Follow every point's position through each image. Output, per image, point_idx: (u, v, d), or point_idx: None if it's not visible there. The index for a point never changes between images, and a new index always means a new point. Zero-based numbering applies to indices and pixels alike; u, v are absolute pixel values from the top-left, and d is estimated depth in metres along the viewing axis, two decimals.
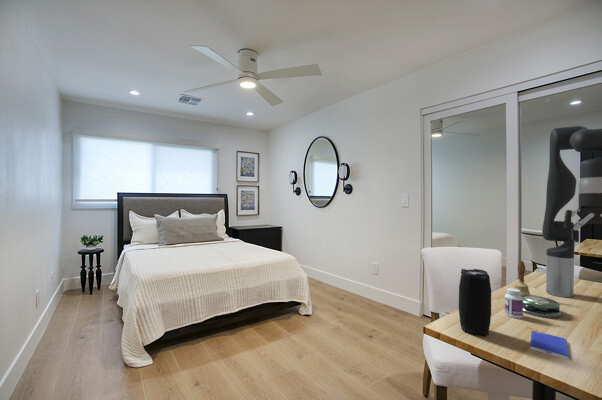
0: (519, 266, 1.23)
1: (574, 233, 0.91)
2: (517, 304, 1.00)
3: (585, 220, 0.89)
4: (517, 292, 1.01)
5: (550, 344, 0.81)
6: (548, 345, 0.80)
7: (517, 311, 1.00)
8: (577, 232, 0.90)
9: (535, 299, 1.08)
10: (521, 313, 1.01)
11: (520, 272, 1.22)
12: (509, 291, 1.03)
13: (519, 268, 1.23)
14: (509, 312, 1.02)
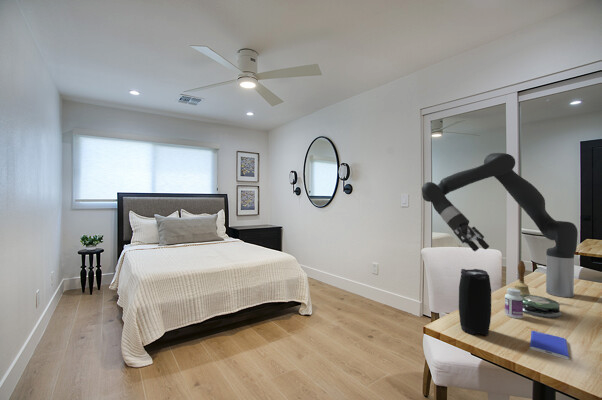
0: (519, 266, 1.23)
1: None
2: (517, 304, 1.00)
3: None
4: (517, 292, 1.01)
5: (550, 344, 0.81)
6: (548, 345, 0.80)
7: (517, 310, 1.00)
8: None
9: (535, 299, 1.08)
10: (521, 313, 1.01)
11: (520, 272, 1.22)
12: (509, 291, 1.03)
13: (519, 268, 1.23)
14: (509, 312, 1.02)
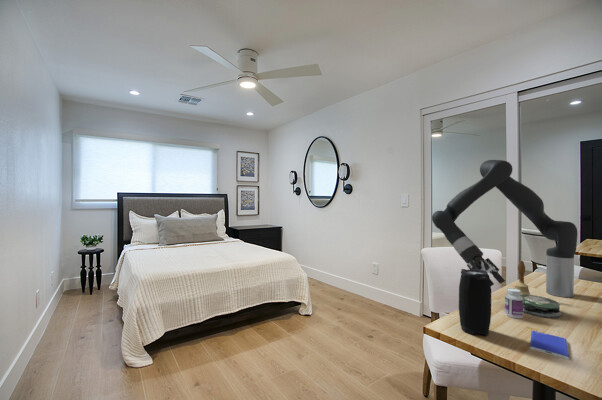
0: (519, 266, 1.23)
1: None
2: (517, 304, 1.00)
3: None
4: (517, 292, 1.01)
5: (550, 344, 0.81)
6: (548, 345, 0.80)
7: (517, 311, 1.00)
8: None
9: (535, 299, 1.08)
10: (521, 313, 1.01)
11: (520, 272, 1.22)
12: (509, 291, 1.03)
13: (519, 268, 1.23)
14: (509, 312, 1.02)
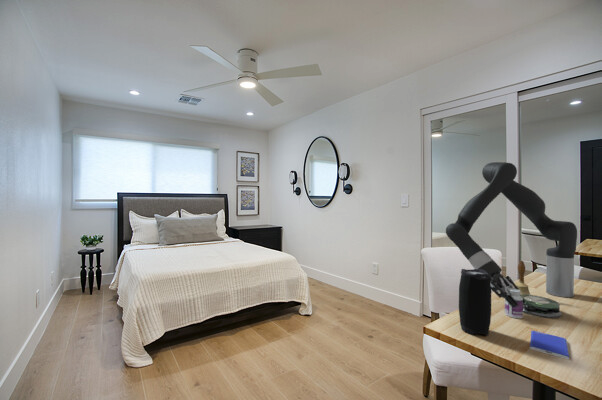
0: (519, 266, 1.23)
1: None
2: None
3: None
4: (517, 292, 1.01)
5: (550, 344, 0.81)
6: (548, 345, 0.80)
7: (517, 310, 1.00)
8: None
9: (535, 299, 1.08)
10: (521, 313, 1.01)
11: (520, 272, 1.22)
12: (509, 291, 1.03)
13: (519, 268, 1.23)
14: (509, 312, 1.02)
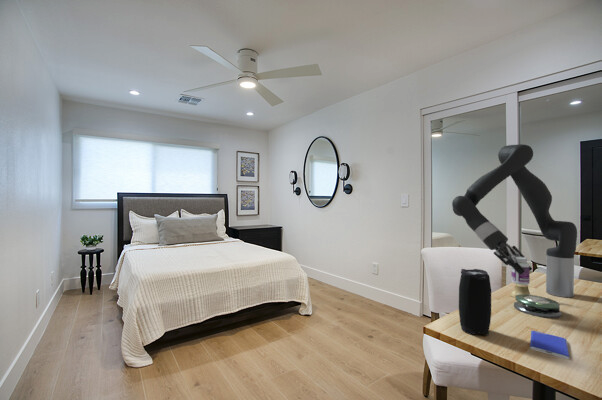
0: None
1: None
2: None
3: None
4: (524, 259, 1.02)
5: (550, 344, 0.81)
6: (548, 345, 0.80)
7: (524, 277, 1.02)
8: None
9: (535, 299, 1.08)
10: (528, 280, 1.02)
11: None
12: (516, 259, 1.04)
13: None
14: (515, 279, 1.03)
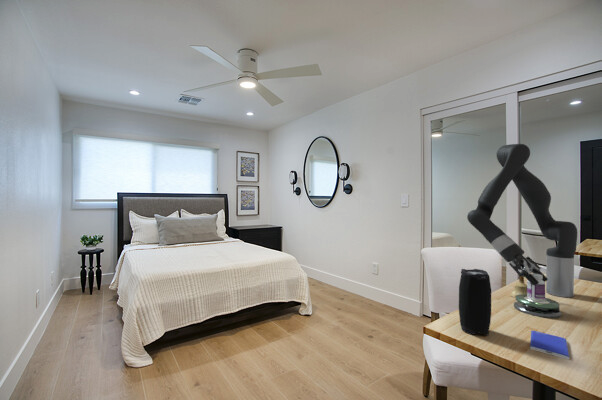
0: None
1: None
2: (540, 288, 1.06)
3: None
4: (539, 276, 1.06)
5: (550, 344, 0.81)
6: (548, 345, 0.80)
7: (540, 294, 1.06)
8: None
9: None
10: (543, 297, 1.06)
11: None
12: None
13: None
14: (531, 295, 1.07)
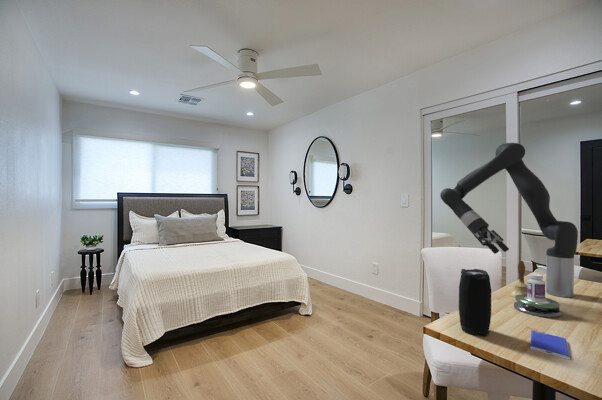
0: (519, 266, 1.23)
1: None
2: (540, 288, 1.06)
3: None
4: (540, 276, 1.06)
5: (550, 344, 0.81)
6: (548, 345, 0.80)
7: (540, 294, 1.06)
8: None
9: None
10: (544, 297, 1.06)
11: (520, 272, 1.22)
12: (532, 276, 1.08)
13: (519, 268, 1.23)
14: (531, 295, 1.07)
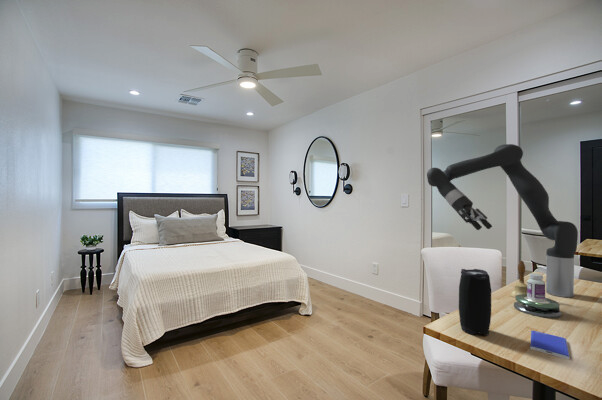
0: (519, 266, 1.23)
1: None
2: (540, 288, 1.06)
3: None
4: (540, 276, 1.06)
5: (550, 344, 0.81)
6: (548, 345, 0.80)
7: (540, 294, 1.06)
8: None
9: None
10: (544, 297, 1.06)
11: (520, 272, 1.22)
12: (532, 276, 1.08)
13: (519, 268, 1.23)
14: (531, 295, 1.07)
